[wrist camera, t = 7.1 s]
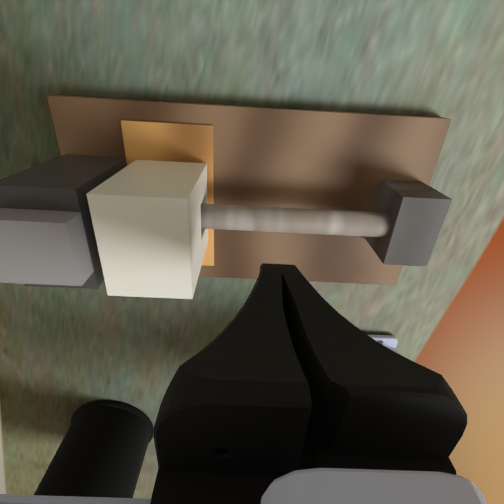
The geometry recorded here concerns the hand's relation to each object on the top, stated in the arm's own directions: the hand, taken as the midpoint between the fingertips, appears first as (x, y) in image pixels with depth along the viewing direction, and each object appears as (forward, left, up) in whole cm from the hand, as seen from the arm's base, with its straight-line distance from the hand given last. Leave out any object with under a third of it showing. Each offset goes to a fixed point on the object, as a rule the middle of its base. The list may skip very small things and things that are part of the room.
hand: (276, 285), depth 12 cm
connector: (+10, 0, -9) cm, 14 cm away
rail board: (+1, 0, -9) cm, 9 cm away
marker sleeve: (+6, 0, -8) cm, 10 cm away
